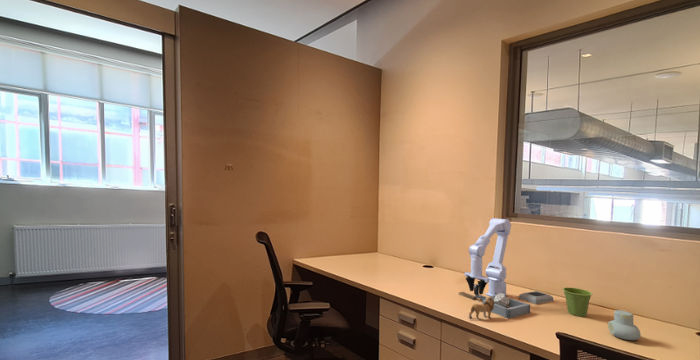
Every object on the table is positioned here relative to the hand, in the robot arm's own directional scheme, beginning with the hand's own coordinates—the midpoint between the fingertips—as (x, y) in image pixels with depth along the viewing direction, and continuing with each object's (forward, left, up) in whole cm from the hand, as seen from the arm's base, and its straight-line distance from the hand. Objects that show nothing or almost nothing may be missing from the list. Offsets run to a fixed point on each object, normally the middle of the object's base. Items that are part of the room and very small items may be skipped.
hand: (476, 292), depth 168 cm
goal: (0, +18, -4) cm, 18 cm away
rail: (0, -5, -4) cm, 7 cm away
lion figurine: (+19, +18, -4) cm, 27 cm away
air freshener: (-18, +58, -4) cm, 60 cm away
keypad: (-32, +14, -5) cm, 35 cm away
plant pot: (-29, +36, -4) cm, 46 cm away
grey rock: (0, +15, -4) cm, 15 cm away
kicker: (0, +5, -4) cm, 6 cm away
